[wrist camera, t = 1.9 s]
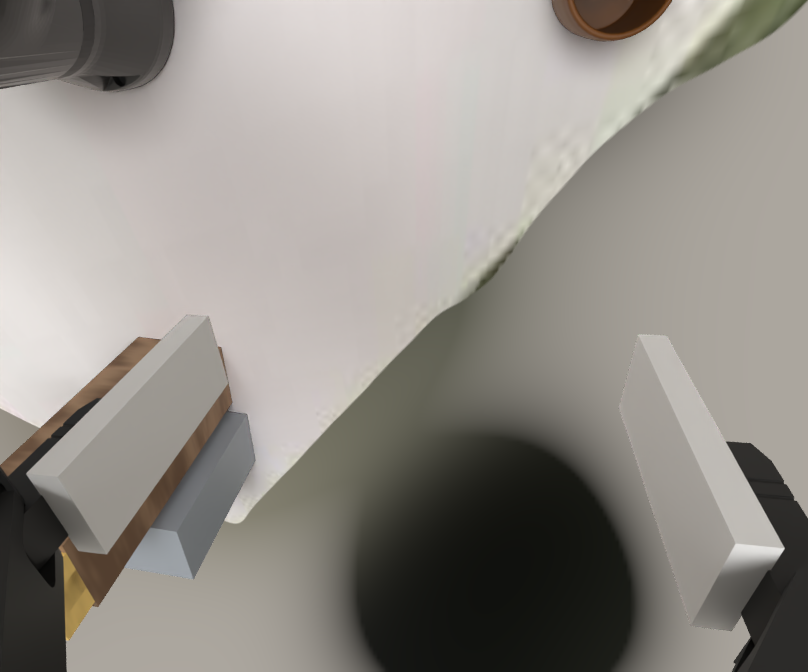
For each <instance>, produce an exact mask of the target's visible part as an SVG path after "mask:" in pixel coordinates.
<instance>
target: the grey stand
mask: <svg viewBox="0 0 808 672" xmlns="http://www.w3.org/2000/svg"><path fill="white" fill-rule="evenodd" d="M254 462H255V455H254V450H253V445H252V439H251V434H250V428H249V423H248V417H247V414H241V413H234V412H226V413H225V414H224V416H223V417H222V419H221V420H220V422H219V423H218V425H217V426H216V428H215V429H214V431H213V432H212V434H211V436H210V437H209V439H208V440H207V442H206V443H205V445H204V446H203V448H202V449H201V451H200V452H199V454H198V455H197V457H196V458H195V460H194V461H193V463H192V465H191V466H190V468H189V469H188V471H187V472H186V474H185V475H184V477H183V478H182V480H181V481H180V483H179V484H178V486H177V487H176V489H175V490H174V492H173V494H172V495H171V497H170V498H169V500H168V501H167V503H166V504H165V506H164V507H163V509H162V510H161V512H160V513H159V515H158V516H157V518H156V519H155V521H154V523H153V524H152V526H151V527H150V529H149V530H148V532H147V533H146V535H145V536H144V538H143V539H142V541H141V542H140V544H139V545H138V547H137V548H136V550H135V552H134V553H133V555H132V556H131V558H130V559H129V561H128V562H127V564H126V565H125V567H124V568H130V569H136V570H141V571H147V572H153V573H159V574H165V575H171V576H177V577H182V578H188V579H194V578H195V576H196V574H197V572H198V570H199V568H200V566H201V564H202V562H203V560H204V558H205V556H206V554H207V552H208V550H209V549H210V547H211V545H212V543H213V541H214V539H215V537H216V535H217V533H218V531H219V529H220V527H221V525H222V524H223V522H224V520H225V518H226V516H227V514H228V512H229V510H230V508H231V506H232V504H233V502H234V500H235V498H236V497H237V495H238V493H239V491H240V489H241V487H242V485H243V483H244V481H245V479H246V477H247V475H248V473H249V471H250V470H251V468H252V466H253V464H254Z"/></svg>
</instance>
